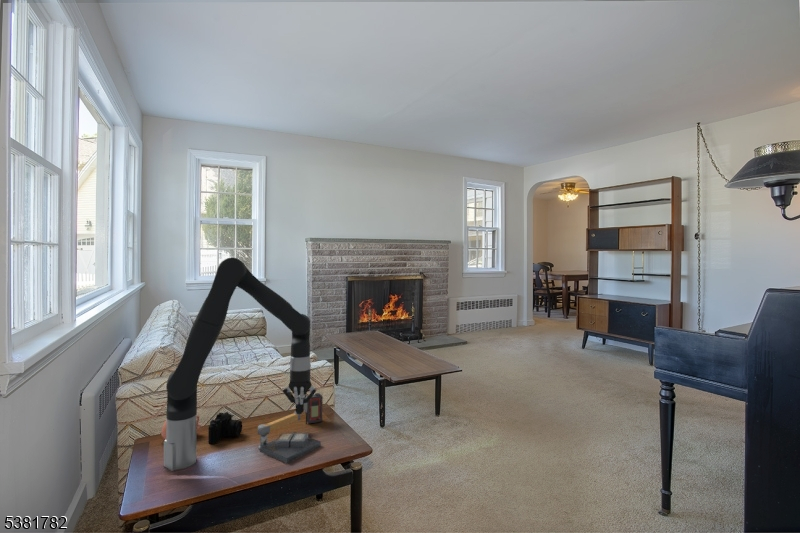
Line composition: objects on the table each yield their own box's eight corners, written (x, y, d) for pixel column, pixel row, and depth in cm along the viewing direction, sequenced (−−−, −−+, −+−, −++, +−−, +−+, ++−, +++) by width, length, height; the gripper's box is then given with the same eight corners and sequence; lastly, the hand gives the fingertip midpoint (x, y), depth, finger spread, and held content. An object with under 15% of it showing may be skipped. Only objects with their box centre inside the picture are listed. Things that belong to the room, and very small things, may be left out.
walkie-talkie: (302, 427, 170) (302, 380, 170) (300, 423, 174) (301, 377, 174) (322, 424, 173) (323, 378, 173) (320, 420, 177) (321, 375, 177)
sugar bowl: (165, 432, 163) (165, 407, 163) (203, 428, 168) (203, 404, 168) (157, 445, 152) (157, 418, 152) (198, 440, 156) (198, 414, 156)
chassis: (286, 463, 139) (287, 451, 139) (260, 451, 147) (260, 440, 147) (320, 446, 152) (320, 435, 152) (294, 436, 160) (294, 426, 160)
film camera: (229, 445, 152) (229, 422, 152) (204, 444, 153) (205, 421, 153) (246, 429, 167) (247, 407, 167) (224, 428, 168) (224, 407, 168)
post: (262, 450, 148) (262, 437, 148) (255, 447, 150) (255, 434, 150) (271, 446, 151) (271, 433, 151) (264, 444, 154) (264, 431, 154)
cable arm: (262, 436, 148) (262, 428, 148) (255, 433, 150) (255, 425, 150) (303, 419, 164) (303, 412, 164) (295, 416, 167) (295, 409, 167)
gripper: (279, 370, 147) (279, 417, 147) (315, 370, 147) (315, 417, 147) (285, 365, 155) (285, 409, 155) (319, 365, 155) (319, 410, 155)
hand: (299, 413), depth 151 cm, fingers closed
